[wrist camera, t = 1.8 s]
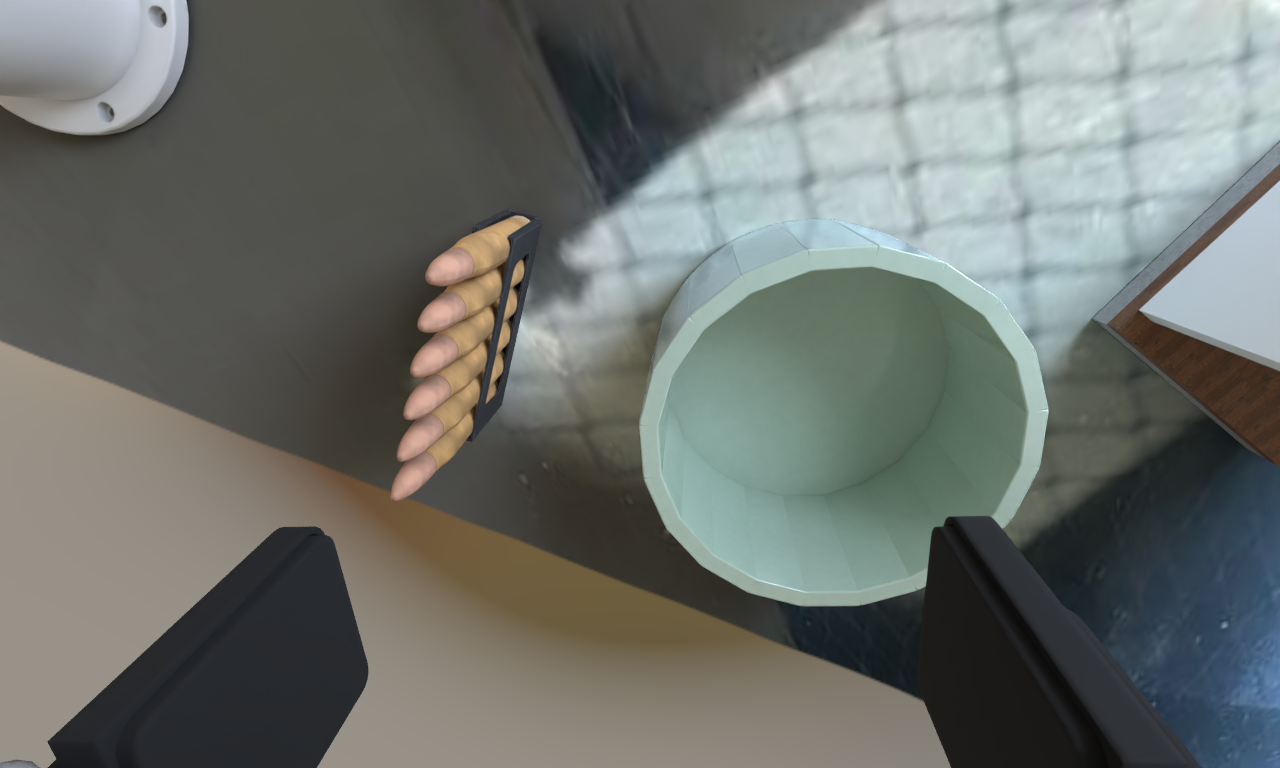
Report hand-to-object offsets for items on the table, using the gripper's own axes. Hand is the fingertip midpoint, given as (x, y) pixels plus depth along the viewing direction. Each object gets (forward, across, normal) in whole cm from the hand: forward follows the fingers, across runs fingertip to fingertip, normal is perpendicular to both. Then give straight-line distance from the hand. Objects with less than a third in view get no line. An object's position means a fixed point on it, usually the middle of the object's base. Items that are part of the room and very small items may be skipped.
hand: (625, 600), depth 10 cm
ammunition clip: (+24, +9, +1) cm, 26 cm away
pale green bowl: (+24, -6, +5) cm, 26 cm away
